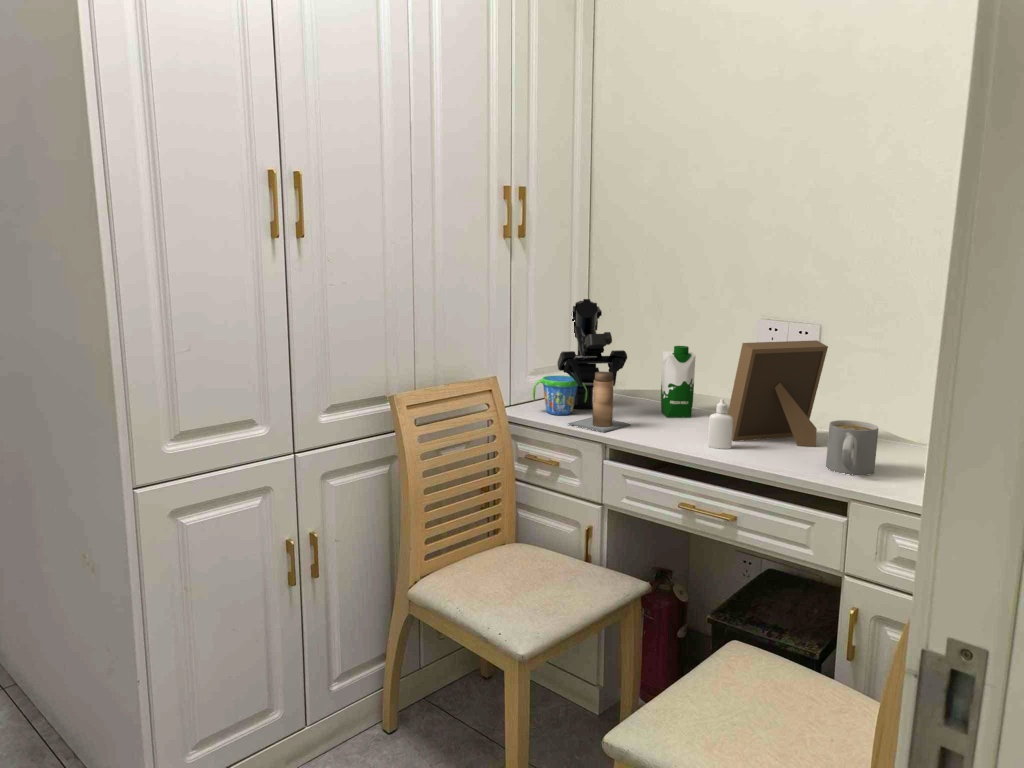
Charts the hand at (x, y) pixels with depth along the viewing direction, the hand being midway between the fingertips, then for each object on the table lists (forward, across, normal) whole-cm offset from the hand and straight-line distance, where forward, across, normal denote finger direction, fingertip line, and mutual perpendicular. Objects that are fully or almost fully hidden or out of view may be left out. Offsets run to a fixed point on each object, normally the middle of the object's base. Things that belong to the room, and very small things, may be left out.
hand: (598, 385), depth 219 cm
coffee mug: (+45, +40, -31) cm, 68 cm away
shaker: (+11, 0, +2) cm, 11 cm away
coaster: (+10, -1, +4) cm, 11 cm away
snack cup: (-1, -7, +16) cm, 18 cm away
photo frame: (+26, +39, -12) cm, 48 cm away
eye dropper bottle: (+28, +22, -14) cm, 38 cm away
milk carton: (+4, +25, +11) cm, 28 cm away
